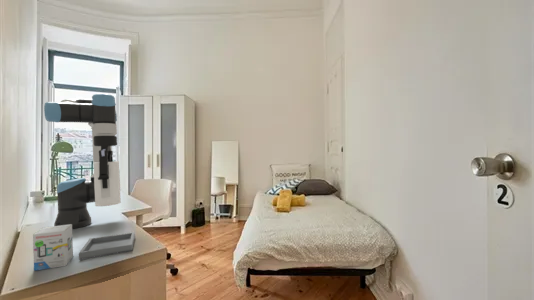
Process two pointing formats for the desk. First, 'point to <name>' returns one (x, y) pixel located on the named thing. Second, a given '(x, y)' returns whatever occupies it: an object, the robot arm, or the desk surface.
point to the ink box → (52, 247)
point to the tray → (107, 245)
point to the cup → (114, 185)
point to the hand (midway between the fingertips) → (107, 195)
